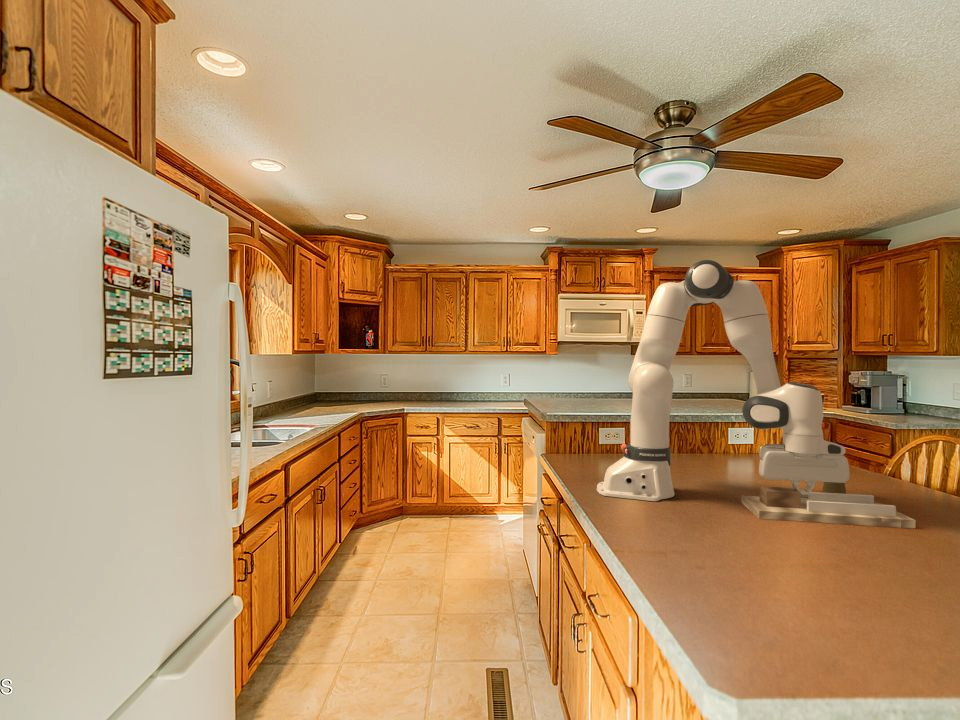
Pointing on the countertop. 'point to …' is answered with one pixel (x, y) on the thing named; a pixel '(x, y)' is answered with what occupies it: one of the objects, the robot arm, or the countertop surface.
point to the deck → (824, 515)
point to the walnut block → (780, 497)
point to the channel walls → (847, 504)
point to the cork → (834, 487)
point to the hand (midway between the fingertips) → (802, 497)
